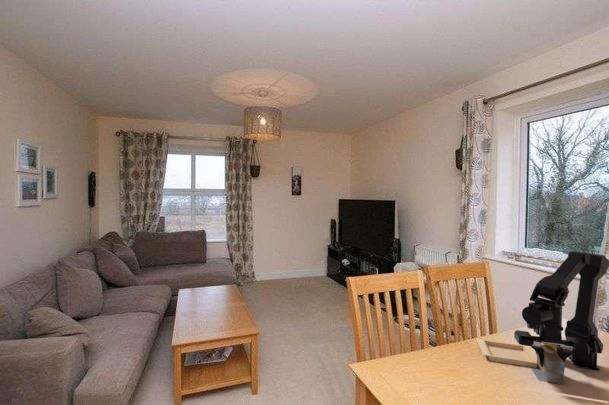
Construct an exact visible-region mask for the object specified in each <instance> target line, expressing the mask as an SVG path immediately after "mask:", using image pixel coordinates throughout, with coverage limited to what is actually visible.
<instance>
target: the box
mask: <svg viewBox="0 0 609 405" xmlns="http://www.w3.org/2000/svg"><path fill="white" fill-rule="evenodd" d="M541 347H542V348H543V349H544V354H543V367H541V365H540V363H539V360H538V357H537V367H539V368H538V369H541V371H542V373H543V375H544V377H545V379H546V381H547V382H546V383H550V382H553V383H552V384H556V383H559V384H558V385H562V384H563V379H565V367H566V363H565V361H564V362H563V360H562V359H561V358H560V356H559V355H558V353H557V352H556V350H555V349H554V347H553V346H548V345H541Z"/></svg>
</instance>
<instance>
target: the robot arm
mask: <svg viewBox="0 0 609 405" xmlns="http://www.w3.org/2000/svg"><path fill="white" fill-rule="evenodd" d="M608 269H609V259H608V258H606V256H605V255H604V254H600V253H599V254H597V253H591V252H583V251H582V252H581V251H575V250H572V251H569V252H568V254H567V257H566V259H565V260H564V261H563V262H562V263H561V264H560V266H558V267H557V269H556V270H555V271H554V272H553V273H552V274H550V275H546V276H544V277H542V278H541V279H540V280H539V281H537V283H536V284H535V285H534V288H533V291H532V293H531V295H530V297H529V301H530V302H528V306H525V307H524V308H523V309H522V311H521V317H522V319H523V320H524V321H525V323H526V326H527V329H531V330H533V333H535V334H536V335H537V336H535V335H532V334H531V333H530V332H529V331H525V330H519V329H517V330H515V331H514V333H513V334H514V335H513V337H514V340H515V341H516V342H517V344H518V345H523V346H524V345H525V346H531V348H532V349H533V350H534V351H535V353H536V355H537V357H538V360H539V363H540V365H541V367H543V354H544V349H543V348H542V347H541V343H544V344H552V345H556V348H557V353H558V355H559V356H560V358H561V359H562V360H563V362H564V363H565V361H566V360H567V359H569V360H570V362H571V363H572V364H573V365H574V366H576V367H577V368H583V369H591V370H596V371H600V370H601V369H600V367H599V366H598V354H602V353H603V350H604V343H603V342H602V341H601V339H600V337H599V329H598V328H597V326H596V324H595V323H594V315H595V308H596V301H597V295H598V294H597V293H598V287H599V280H600V279H602V278H603V277H604V276H605V275H606V274H607V270H608ZM578 275H579V284H578V290H577V296H576V297H577V299H576V305H575V312H574V317H572V318H571V319H568V320H567V321H566V327H565V328H564V327H563V326H562V325H563V323H562V322H563V307H565V306H566V304H565V301H566V299H568V297H569V293H570V290H569V286H570V284H571V283H572V282H573V280H574V279H575V278H576V277H577V276H578ZM562 331H564V336H565V339H563V338H562V339H561V336H562Z"/></svg>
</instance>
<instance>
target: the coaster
mask: <svg viewBox="0 0 609 405" xmlns="http://www.w3.org/2000/svg"><path fill="white" fill-rule="evenodd" d="M529 369H531V371H532V373H533V374H534V376H536V379H537V380H538V381H539V382H545V383H548V382H547V381H546V379H545V377H544V375H543V373H542V371H541V369H540V368H538V367H537V368H534V367H529ZM549 383H552V384H554V383H553V382H549ZM556 384H558V385H560V384H559V383H555V385H556ZM561 385H564V386H568V387H570V386H571V385H570V384H569V383H568V382H567V381H566V379H565V378H564V379H563V384H561Z"/></svg>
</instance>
